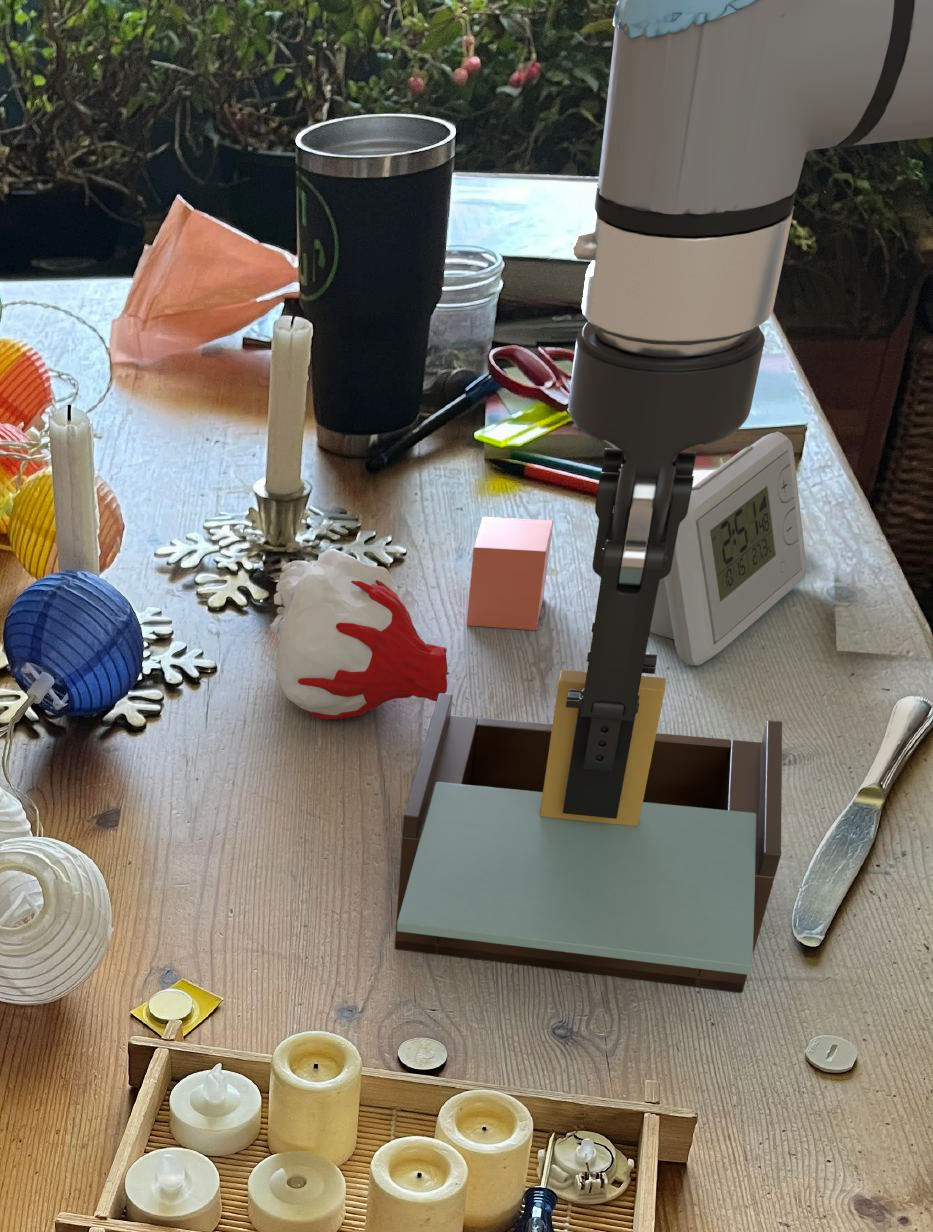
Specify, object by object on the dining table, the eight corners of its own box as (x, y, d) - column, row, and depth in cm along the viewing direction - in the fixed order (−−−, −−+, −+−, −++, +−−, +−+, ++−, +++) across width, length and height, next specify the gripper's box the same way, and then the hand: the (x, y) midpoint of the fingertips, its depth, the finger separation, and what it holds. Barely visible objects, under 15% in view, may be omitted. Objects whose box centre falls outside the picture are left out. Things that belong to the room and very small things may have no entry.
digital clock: (691, 680, 106) (722, 530, 99) (589, 634, 112) (611, 488, 104) (840, 599, 112) (881, 452, 105) (736, 559, 118) (767, 416, 110)
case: (747, 857, 92) (782, 720, 86) (742, 993, 84) (781, 854, 77) (428, 823, 97) (439, 692, 91) (394, 949, 89) (403, 815, 82)
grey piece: (754, 822, 81) (793, 674, 75) (750, 975, 73) (793, 823, 67) (434, 790, 86) (446, 648, 79) (396, 931, 77) (406, 784, 71)
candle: (281, 633, 114) (472, 697, 109) (210, 707, 107) (410, 778, 103) (297, 517, 107) (501, 580, 103) (222, 588, 101) (436, 658, 96)
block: (543, 597, 116) (553, 519, 112) (536, 630, 113) (546, 551, 108) (475, 593, 117) (482, 516, 113) (466, 625, 114) (473, 547, 110)
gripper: (593, 264, 70) (534, 722, 87) (561, 386, 61) (501, 874, 77) (770, 266, 68) (674, 734, 85) (765, 393, 59) (658, 891, 75)
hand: (591, 800), depth 81 cm, fingers closed on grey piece
